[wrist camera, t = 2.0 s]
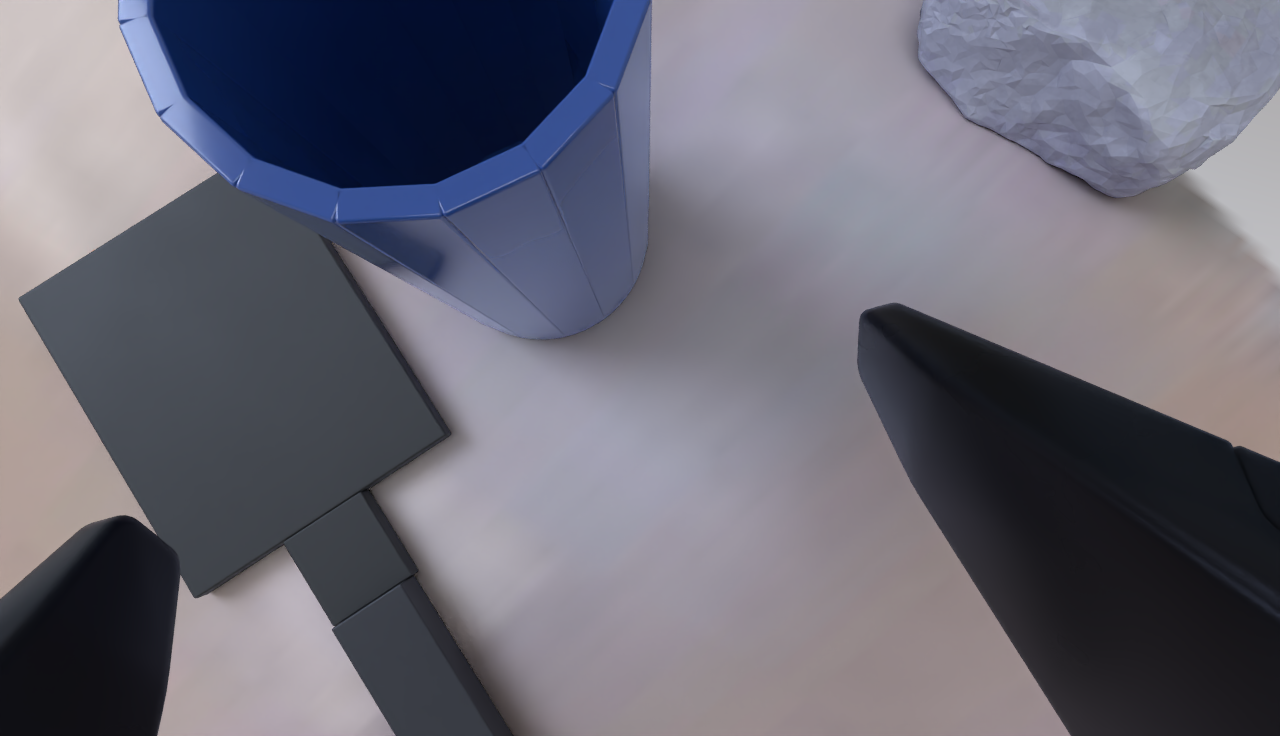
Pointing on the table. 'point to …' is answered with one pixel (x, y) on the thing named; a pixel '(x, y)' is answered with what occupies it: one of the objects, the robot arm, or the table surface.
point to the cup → (428, 136)
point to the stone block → (1107, 78)
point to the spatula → (264, 426)
